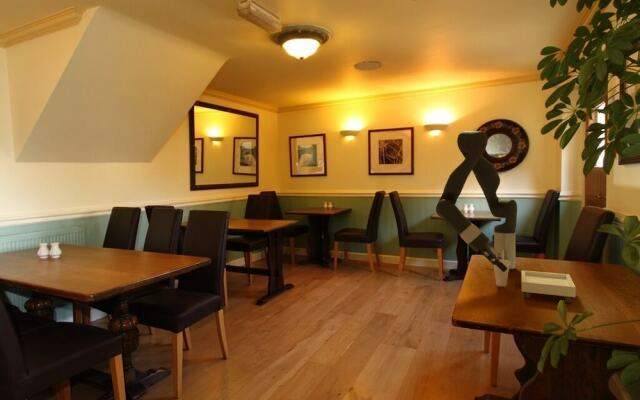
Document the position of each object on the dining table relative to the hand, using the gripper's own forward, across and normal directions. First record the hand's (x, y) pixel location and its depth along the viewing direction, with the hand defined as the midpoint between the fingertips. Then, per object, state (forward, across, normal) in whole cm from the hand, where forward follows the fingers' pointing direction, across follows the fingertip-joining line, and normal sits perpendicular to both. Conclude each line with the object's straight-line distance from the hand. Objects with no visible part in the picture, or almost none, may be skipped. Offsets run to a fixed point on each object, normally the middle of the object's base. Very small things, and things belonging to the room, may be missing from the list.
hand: (505, 268), depth 147 cm
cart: (+15, -4, -4) cm, 16 cm away
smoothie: (+4, 0, +6) cm, 7 cm away
